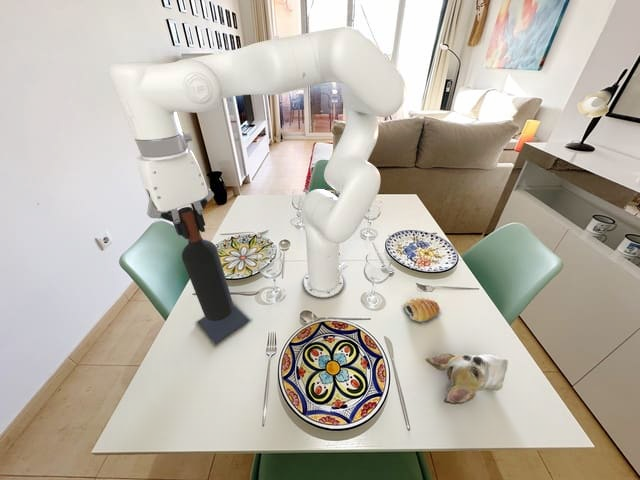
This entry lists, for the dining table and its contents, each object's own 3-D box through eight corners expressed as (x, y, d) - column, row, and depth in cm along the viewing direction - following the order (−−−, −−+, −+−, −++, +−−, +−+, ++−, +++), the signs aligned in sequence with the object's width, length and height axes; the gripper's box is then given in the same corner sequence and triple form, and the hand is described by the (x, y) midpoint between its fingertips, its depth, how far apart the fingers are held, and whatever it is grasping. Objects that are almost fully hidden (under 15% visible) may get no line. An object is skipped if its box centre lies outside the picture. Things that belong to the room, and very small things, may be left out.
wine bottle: (203, 324, 68) (161, 222, 51) (205, 302, 74) (168, 204, 57) (234, 317, 70) (203, 215, 53) (233, 296, 76) (205, 199, 59)
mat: (229, 302, 80) (229, 301, 80) (248, 321, 75) (248, 319, 74) (197, 322, 74) (197, 321, 74) (215, 344, 69) (215, 343, 68)
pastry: (429, 300, 80) (432, 291, 77) (444, 317, 74) (447, 308, 72) (401, 306, 78) (403, 297, 76) (413, 325, 72) (416, 316, 70)
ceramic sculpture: (528, 381, 51) (450, 390, 50) (514, 403, 55) (442, 412, 55) (494, 333, 59) (427, 341, 59) (484, 356, 64) (422, 364, 64)
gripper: (197, 134, 54) (218, 213, 65) (103, 152, 45) (146, 242, 55) (215, 140, 50) (235, 224, 60) (116, 161, 41) (160, 257, 51)
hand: (192, 232), depth 58 cm, fingers closed on wine bottle, 2 cm apart
